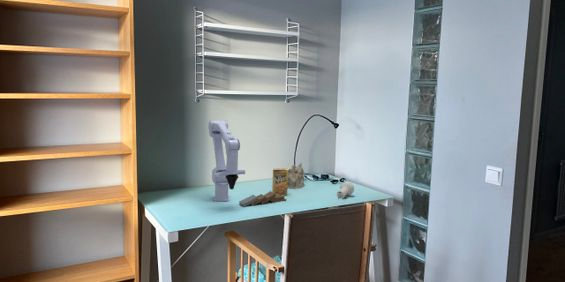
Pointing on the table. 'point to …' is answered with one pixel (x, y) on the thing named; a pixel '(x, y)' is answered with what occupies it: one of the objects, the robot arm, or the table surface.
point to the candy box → (280, 181)
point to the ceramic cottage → (295, 177)
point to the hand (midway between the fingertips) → (231, 188)
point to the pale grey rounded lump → (345, 190)
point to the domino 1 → (248, 200)
